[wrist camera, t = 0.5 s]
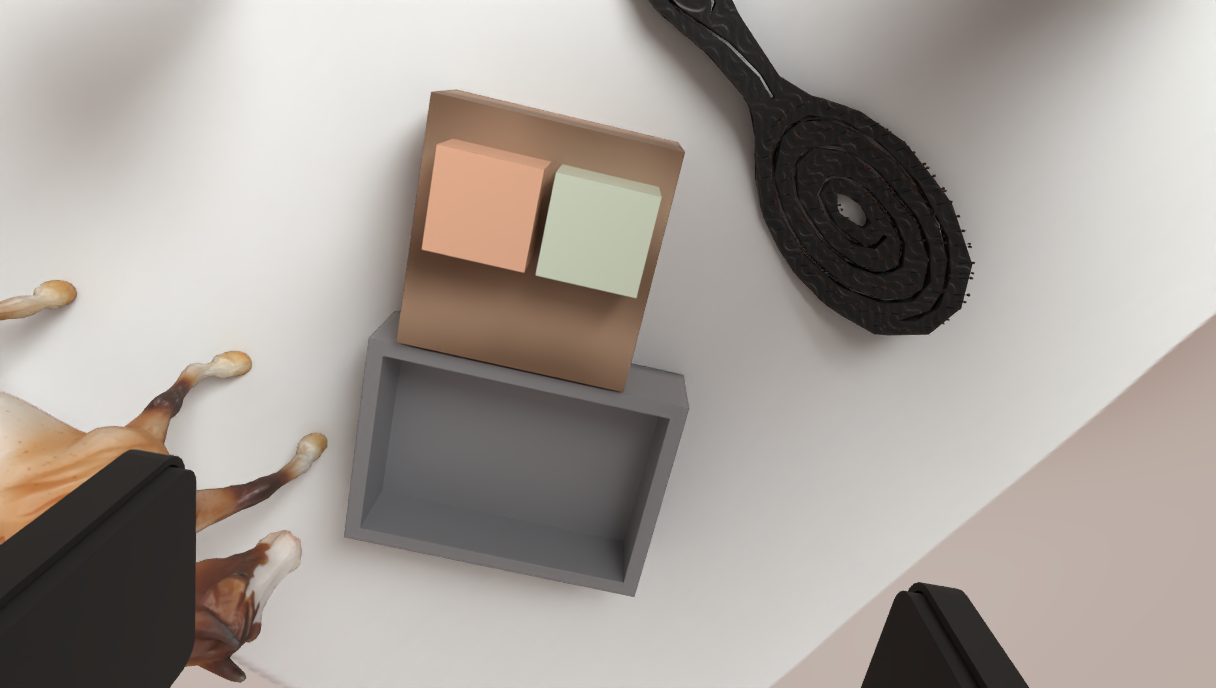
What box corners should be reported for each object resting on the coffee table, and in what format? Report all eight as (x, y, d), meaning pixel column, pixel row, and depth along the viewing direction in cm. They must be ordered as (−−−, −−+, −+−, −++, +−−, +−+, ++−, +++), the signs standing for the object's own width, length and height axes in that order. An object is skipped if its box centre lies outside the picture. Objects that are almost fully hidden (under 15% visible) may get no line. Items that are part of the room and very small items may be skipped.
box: (395, 311, 42) (369, 337, 37) (683, 375, 43) (689, 408, 38) (370, 494, 46) (344, 536, 42) (633, 549, 47) (634, 597, 42)
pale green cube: (562, 164, 34) (556, 172, 31) (659, 186, 34) (661, 197, 31) (543, 259, 35) (535, 275, 33) (636, 280, 36) (636, 298, 33)
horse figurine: (420, 396, 43) (251, 655, 24) (376, 501, 46) (191, 812, 27) (-128, 163, 40) (-847, 248, 20) (-143, 290, 42) (-796, 473, 23)
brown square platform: (455, 89, 38) (430, 92, 33) (678, 142, 38) (684, 152, 34) (422, 311, 42) (396, 342, 37) (624, 356, 42) (623, 392, 38)
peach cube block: (453, 138, 34) (436, 144, 31) (551, 161, 34) (544, 169, 31) (438, 235, 35) (421, 249, 32) (532, 256, 35) (524, 272, 33)
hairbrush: (702, -170, 32) (1024, 278, 36) (698, -143, 35) (992, 263, 40) (556, -27, 34) (879, 379, 38) (566, -15, 37) (861, 356, 42)
